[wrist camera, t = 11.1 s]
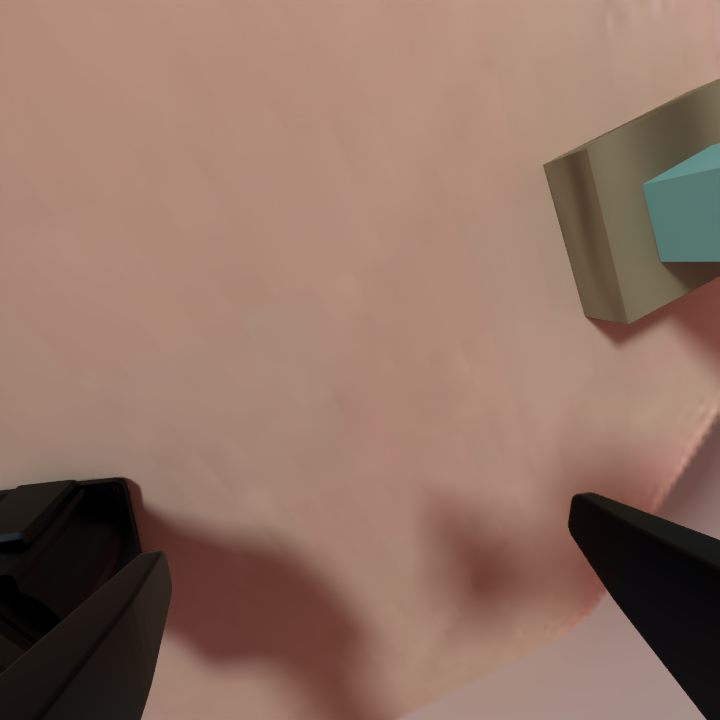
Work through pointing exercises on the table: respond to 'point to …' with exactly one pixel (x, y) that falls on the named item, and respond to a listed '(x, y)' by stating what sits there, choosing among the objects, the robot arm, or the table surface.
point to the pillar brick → (687, 209)
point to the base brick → (630, 207)
